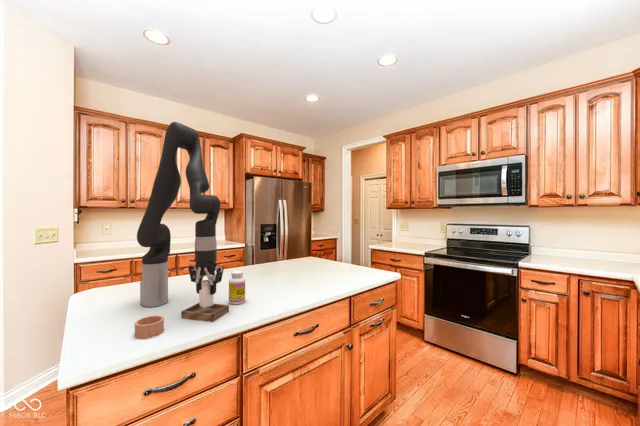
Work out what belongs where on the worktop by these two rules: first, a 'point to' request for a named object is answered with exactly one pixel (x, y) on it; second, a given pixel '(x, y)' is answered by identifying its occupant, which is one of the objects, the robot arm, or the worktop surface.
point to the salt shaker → (205, 295)
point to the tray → (205, 312)
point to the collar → (149, 326)
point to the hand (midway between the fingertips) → (206, 293)
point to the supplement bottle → (236, 288)
